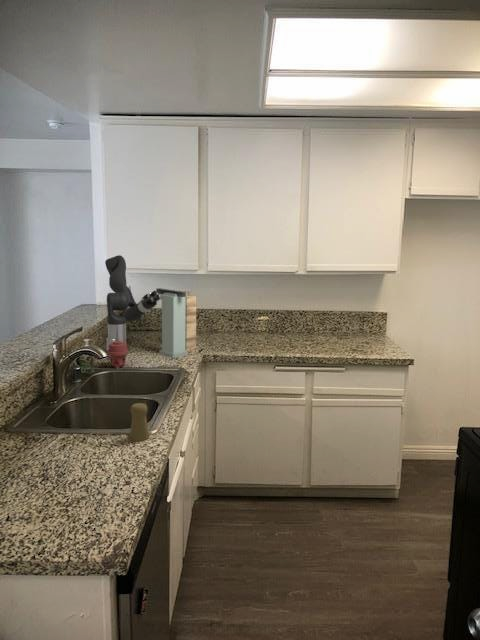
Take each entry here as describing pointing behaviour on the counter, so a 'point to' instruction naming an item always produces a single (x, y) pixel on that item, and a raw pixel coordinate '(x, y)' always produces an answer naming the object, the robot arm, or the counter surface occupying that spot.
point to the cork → (139, 423)
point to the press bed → (190, 322)
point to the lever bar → (171, 292)
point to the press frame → (173, 325)
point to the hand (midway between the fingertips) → (162, 291)
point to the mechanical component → (118, 353)
